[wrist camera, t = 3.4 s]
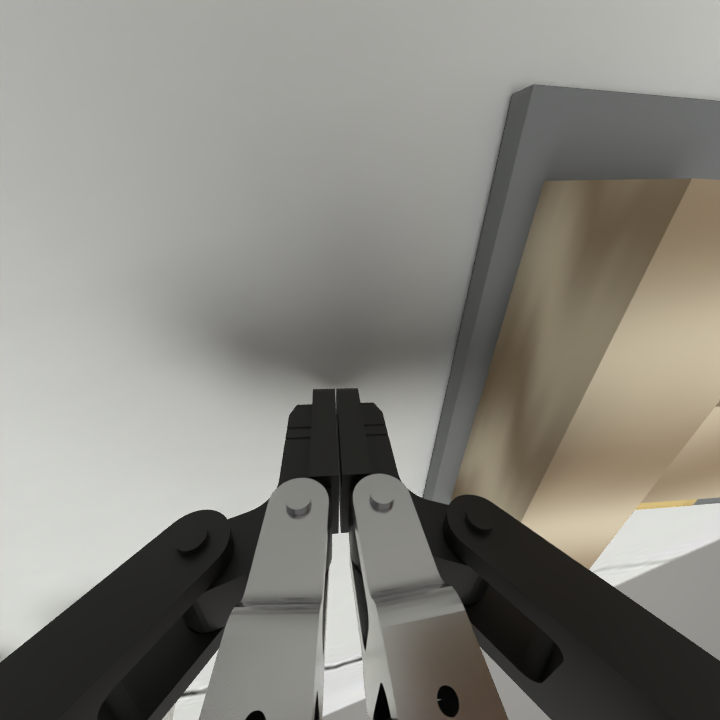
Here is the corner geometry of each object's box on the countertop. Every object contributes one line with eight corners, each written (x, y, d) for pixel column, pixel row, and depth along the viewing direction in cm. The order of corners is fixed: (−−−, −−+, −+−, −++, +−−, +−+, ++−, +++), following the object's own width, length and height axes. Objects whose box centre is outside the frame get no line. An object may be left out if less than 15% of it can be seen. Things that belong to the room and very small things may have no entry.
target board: (512, 94, 8) (539, 81, 7) (1139, 147, 11) (1225, 144, 10) (420, 508, 17) (426, 528, 16) (779, 483, 20) (804, 499, 19)
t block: (544, 180, 9) (692, 178, 5) (887, 199, 10) (1190, 206, 6) (450, 500, 16) (486, 590, 12) (660, 486, 17) (747, 563, 13)
